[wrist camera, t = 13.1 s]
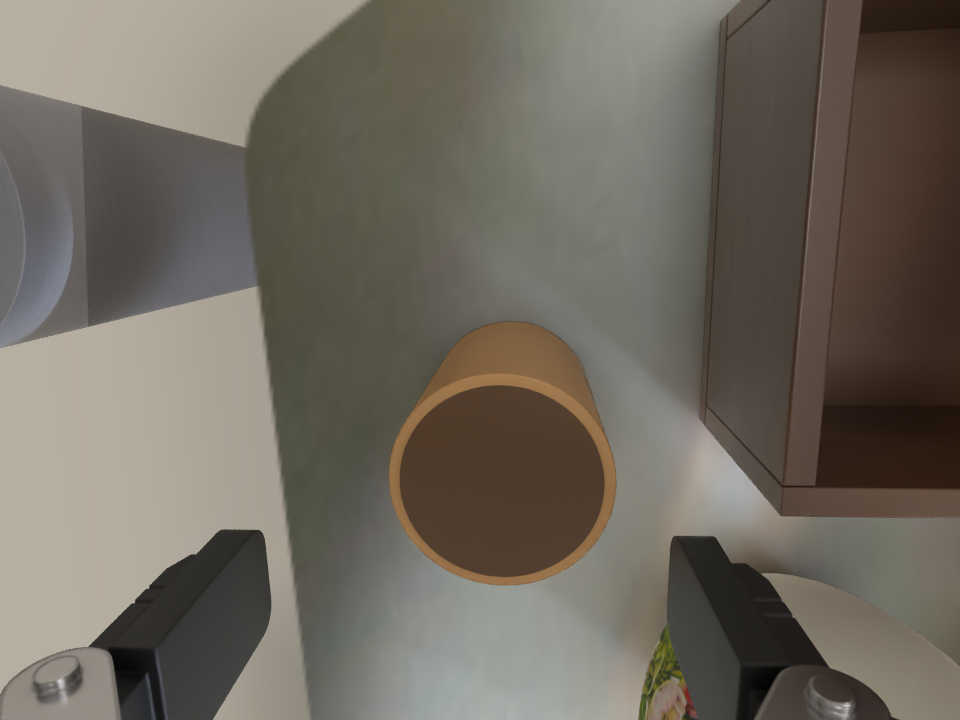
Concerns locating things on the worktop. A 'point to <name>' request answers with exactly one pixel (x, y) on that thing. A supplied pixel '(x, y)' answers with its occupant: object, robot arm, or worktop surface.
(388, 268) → the worktop surface
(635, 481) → the worktop surface
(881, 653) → the pitcher
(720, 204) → the chest
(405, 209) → the worktop surface
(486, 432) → the tan cylinder
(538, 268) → the worktop surface
